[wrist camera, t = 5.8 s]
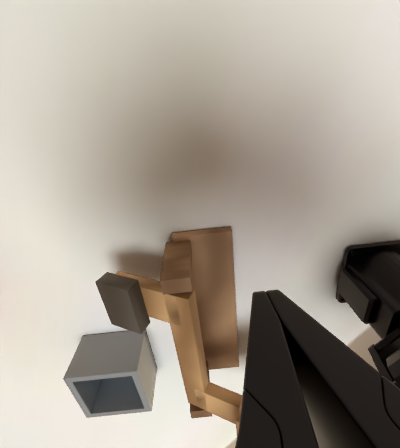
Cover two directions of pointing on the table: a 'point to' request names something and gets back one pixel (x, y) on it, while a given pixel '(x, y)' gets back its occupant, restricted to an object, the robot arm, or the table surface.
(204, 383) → the catapult lever
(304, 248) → the table surface
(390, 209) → the table surface
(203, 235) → the frame
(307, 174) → the table surface
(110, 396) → the grey open box
